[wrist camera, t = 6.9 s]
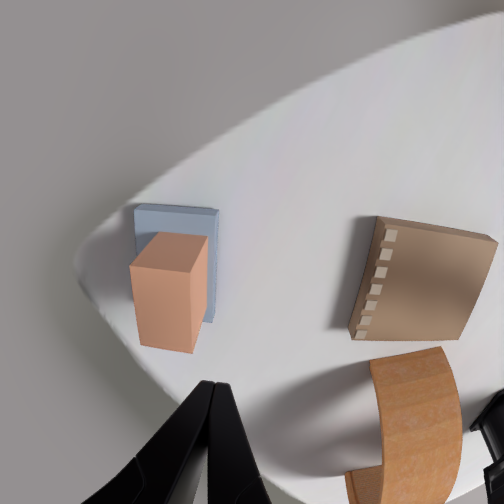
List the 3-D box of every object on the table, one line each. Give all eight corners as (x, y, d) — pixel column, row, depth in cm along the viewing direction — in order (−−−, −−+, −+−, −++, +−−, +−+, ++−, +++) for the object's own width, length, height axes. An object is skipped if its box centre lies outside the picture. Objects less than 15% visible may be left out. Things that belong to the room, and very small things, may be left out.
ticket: (451, 329, 17) (458, 340, 16) (348, 327, 18) (352, 341, 16) (487, 235, 15) (499, 243, 13) (377, 216, 15) (386, 224, 13)
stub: (215, 312, 17) (199, 370, 13) (148, 303, 17) (118, 355, 13) (218, 209, 15) (198, 248, 11) (141, 203, 15) (97, 238, 11)
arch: (442, 344, 18) (498, 454, 9) (390, 465, 26) (403, 535, 17) (369, 357, 19) (406, 488, 10) (342, 474, 27) (349, 547, 18)
